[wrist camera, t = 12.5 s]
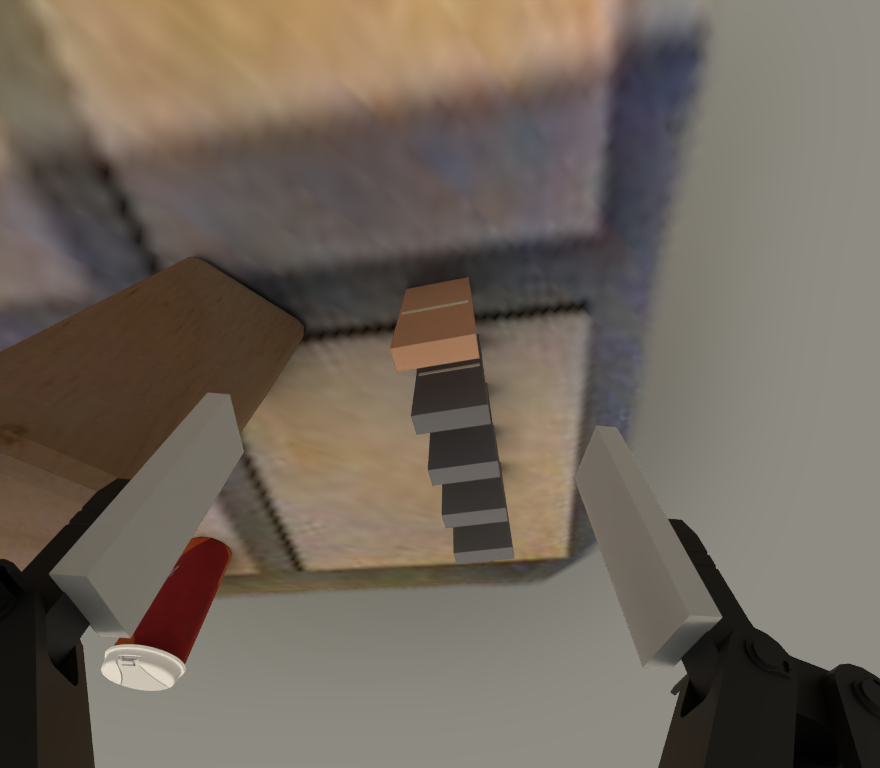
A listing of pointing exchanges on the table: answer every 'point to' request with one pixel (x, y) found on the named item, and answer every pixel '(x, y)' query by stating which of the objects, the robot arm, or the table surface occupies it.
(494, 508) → the domino
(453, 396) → the domino
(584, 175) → the table surface
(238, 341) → the wooden block
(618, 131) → the table surface
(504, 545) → the domino
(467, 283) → the head domino
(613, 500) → the robot arm
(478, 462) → the domino
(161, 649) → the paper cup
